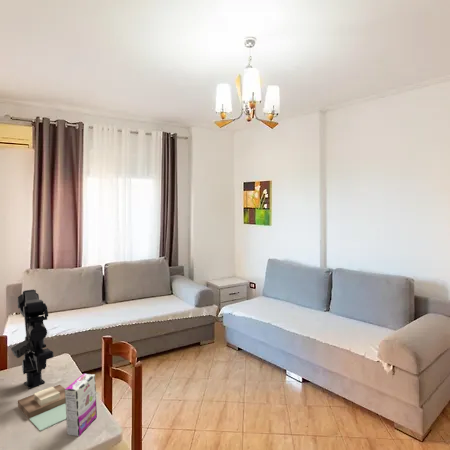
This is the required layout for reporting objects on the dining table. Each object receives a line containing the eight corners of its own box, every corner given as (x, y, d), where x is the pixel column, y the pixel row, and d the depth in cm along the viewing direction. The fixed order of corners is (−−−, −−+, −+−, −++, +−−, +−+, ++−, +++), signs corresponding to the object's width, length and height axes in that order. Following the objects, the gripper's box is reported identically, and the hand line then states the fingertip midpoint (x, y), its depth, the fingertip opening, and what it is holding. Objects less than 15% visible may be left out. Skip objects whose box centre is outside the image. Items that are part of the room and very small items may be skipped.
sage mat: (29, 419, 128) (29, 418, 128) (72, 400, 140) (72, 399, 140) (40, 431, 121) (40, 430, 121) (85, 410, 133) (84, 409, 133)
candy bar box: (85, 415, 130) (83, 372, 129) (97, 417, 129) (96, 374, 128) (65, 435, 119) (63, 388, 118) (78, 437, 118) (77, 390, 117)
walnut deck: (17, 406, 136) (17, 400, 136) (59, 390, 148) (59, 384, 148) (29, 419, 128) (29, 412, 128) (72, 400, 140) (72, 394, 140)
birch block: (34, 399, 136) (33, 393, 136) (52, 392, 142) (52, 386, 141) (41, 406, 132) (40, 400, 132) (60, 398, 137) (59, 392, 137)
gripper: (5, 332, 141) (7, 370, 142) (22, 345, 129) (23, 386, 130) (34, 325, 150) (36, 361, 151) (53, 336, 137) (54, 375, 138)
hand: (37, 370), depth 142 cm, fingers open, 4 cm apart
